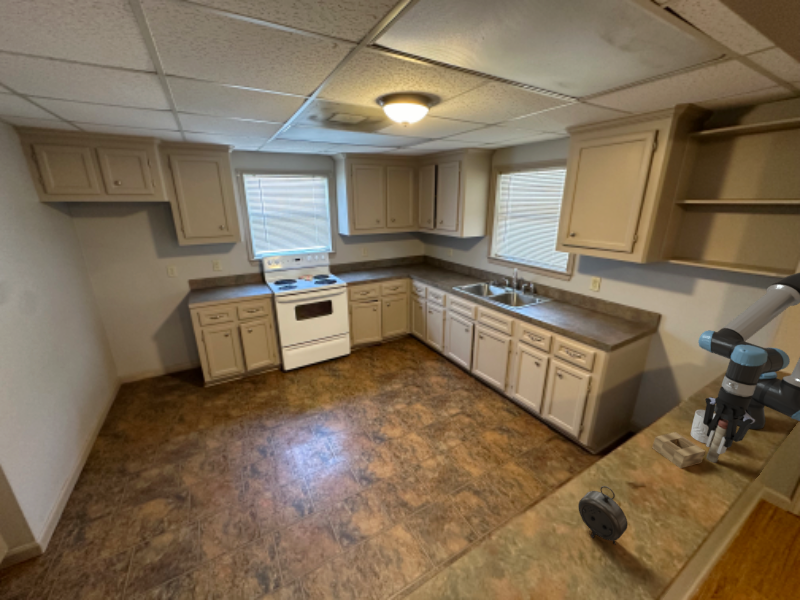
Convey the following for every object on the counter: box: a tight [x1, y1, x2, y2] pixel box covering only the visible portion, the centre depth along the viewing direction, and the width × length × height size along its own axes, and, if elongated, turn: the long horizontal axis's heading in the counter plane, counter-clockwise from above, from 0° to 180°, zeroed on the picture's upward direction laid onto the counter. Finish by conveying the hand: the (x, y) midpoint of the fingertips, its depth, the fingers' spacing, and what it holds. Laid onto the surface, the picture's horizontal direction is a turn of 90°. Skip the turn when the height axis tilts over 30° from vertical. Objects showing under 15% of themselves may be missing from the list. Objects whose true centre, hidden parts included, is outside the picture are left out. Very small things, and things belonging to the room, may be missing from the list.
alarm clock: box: [577, 485, 629, 546], centre depth 89 cm, size 11×5×16 cm, turn 34°
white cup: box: [690, 409, 717, 445], centre depth 127 cm, size 8×8×10 cm
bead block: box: [652, 431, 706, 469], centre depth 119 cm, size 10×10×5 cm
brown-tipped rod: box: [705, 419, 728, 464], centre depth 115 cm, size 3×3×16 cm
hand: (715, 449), depth 117 cm, fingers closed on brown-tipped rod, 3 cm apart
